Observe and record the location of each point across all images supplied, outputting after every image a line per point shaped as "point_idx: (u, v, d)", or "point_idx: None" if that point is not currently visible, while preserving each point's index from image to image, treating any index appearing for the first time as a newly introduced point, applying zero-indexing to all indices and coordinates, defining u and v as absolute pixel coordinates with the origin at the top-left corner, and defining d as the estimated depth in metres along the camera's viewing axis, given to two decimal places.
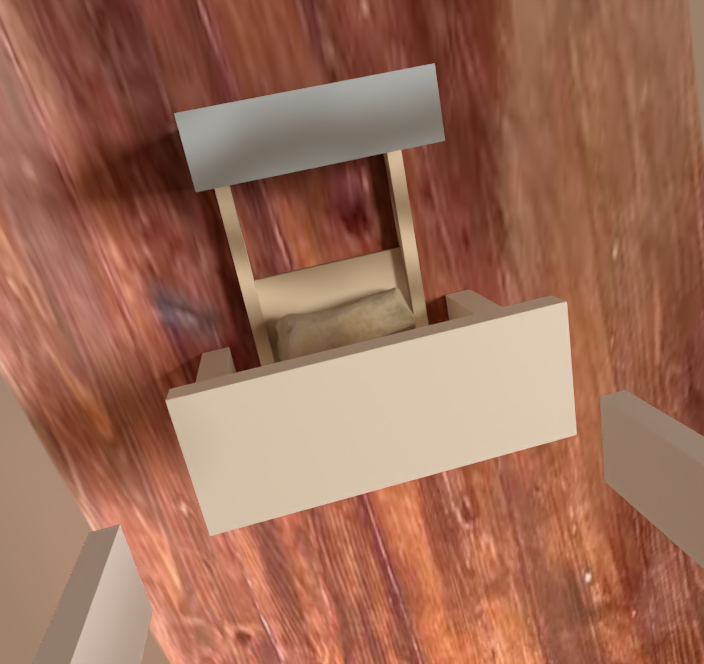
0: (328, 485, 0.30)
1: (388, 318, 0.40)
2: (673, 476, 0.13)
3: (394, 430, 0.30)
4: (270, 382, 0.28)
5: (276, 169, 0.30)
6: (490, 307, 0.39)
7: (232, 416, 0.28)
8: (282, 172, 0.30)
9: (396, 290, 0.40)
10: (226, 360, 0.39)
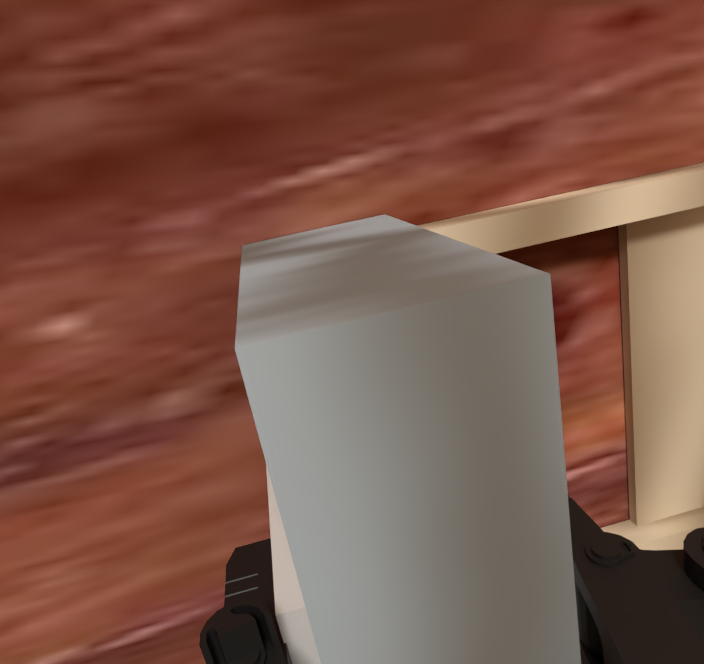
0: None
1: None
2: None
3: None
4: None
5: None
6: None
7: None
8: None
9: None
10: None
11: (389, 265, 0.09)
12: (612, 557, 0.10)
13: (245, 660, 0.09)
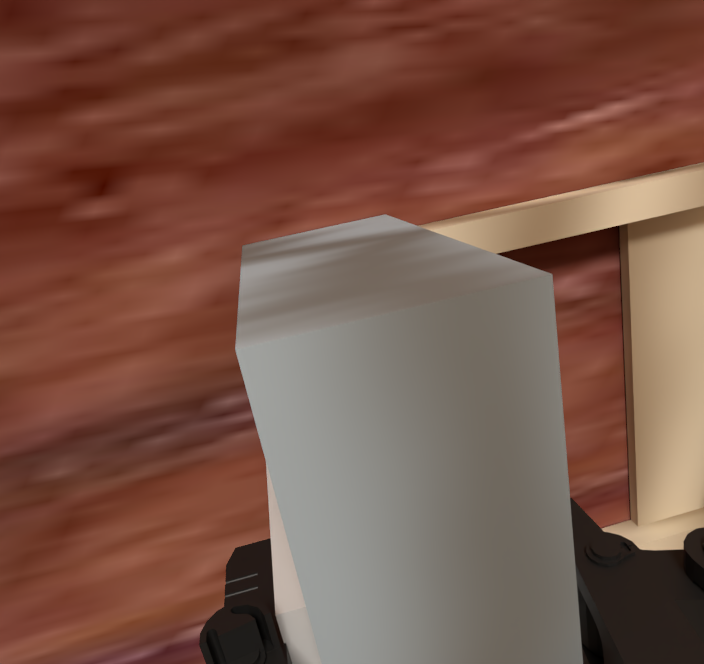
0: None
1: None
2: None
3: None
4: None
5: None
6: None
7: None
8: None
9: None
10: None
11: (390, 265, 0.09)
12: (612, 557, 0.10)
13: (245, 660, 0.09)
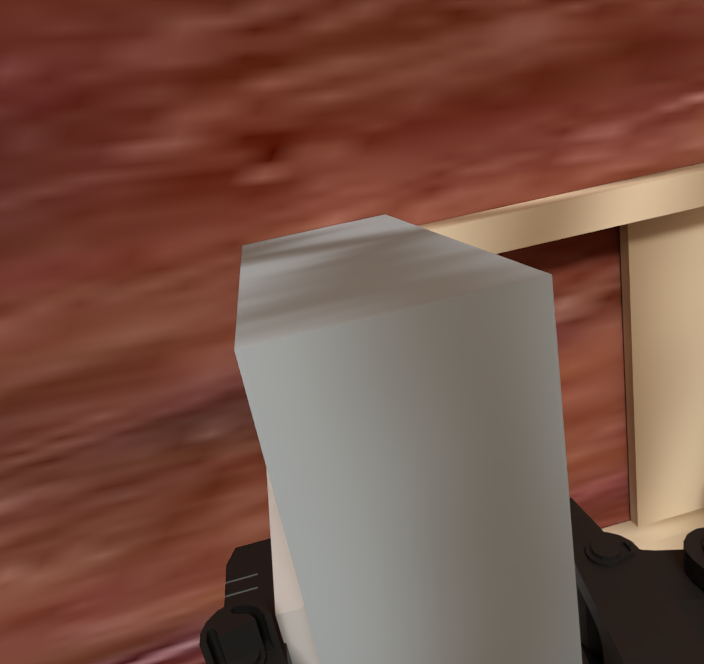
0: None
1: None
2: None
3: None
4: None
5: None
6: None
7: None
8: None
9: None
10: None
11: (390, 265, 0.09)
12: (612, 557, 0.10)
13: (245, 660, 0.09)
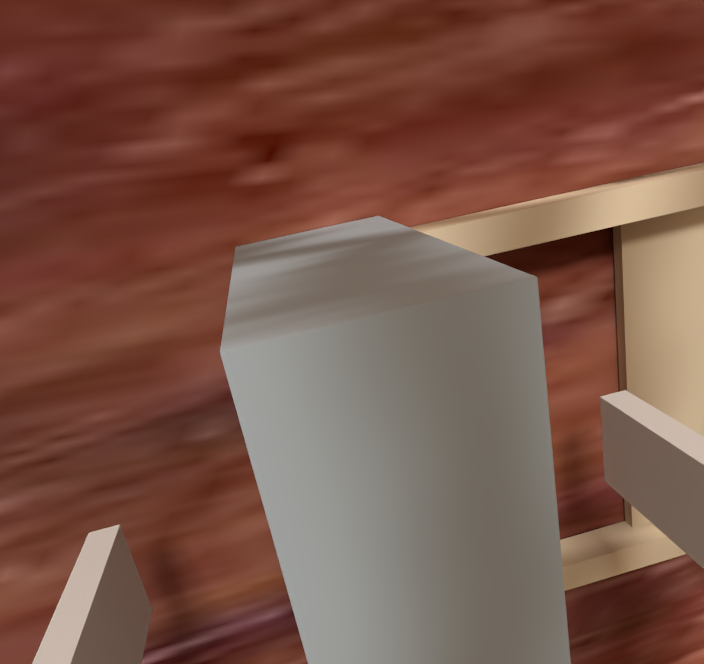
0: None
1: None
2: (673, 475, 0.13)
3: None
4: None
5: None
6: None
7: None
8: None
9: None
10: None
11: (379, 267, 0.09)
12: None
13: None
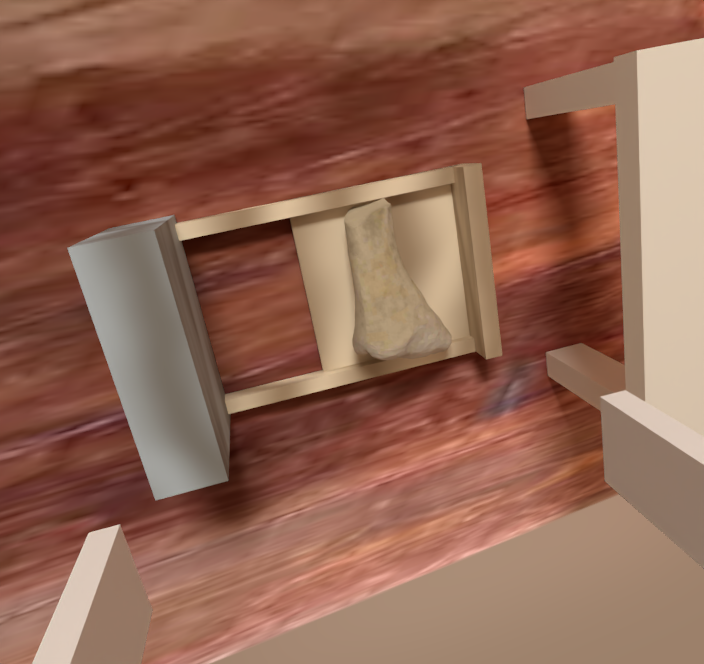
0: None
1: (376, 241, 0.34)
2: (673, 475, 0.13)
3: None
4: (652, 394, 0.28)
5: (201, 409, 0.30)
6: (570, 86, 0.32)
7: None
8: (204, 404, 0.29)
9: (347, 221, 0.35)
10: (567, 366, 0.40)
11: (132, 230, 0.29)
12: None
13: None
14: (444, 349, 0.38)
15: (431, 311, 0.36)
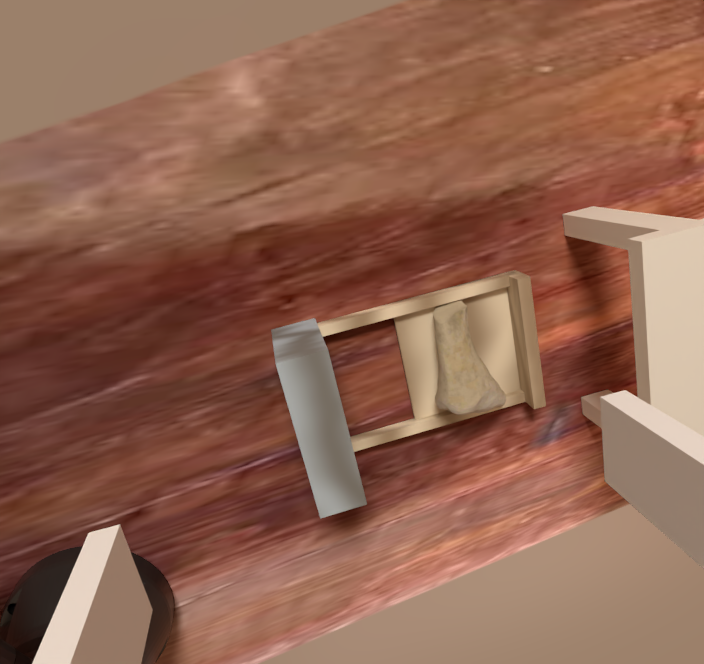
0: None
1: (457, 333, 0.49)
2: (673, 476, 0.13)
3: None
4: None
5: (352, 459, 0.45)
6: (598, 227, 0.47)
7: None
8: (353, 455, 0.45)
9: (436, 318, 0.50)
10: (598, 410, 0.55)
11: (305, 344, 0.44)
12: None
13: None
14: (501, 405, 0.53)
15: (493, 380, 0.51)
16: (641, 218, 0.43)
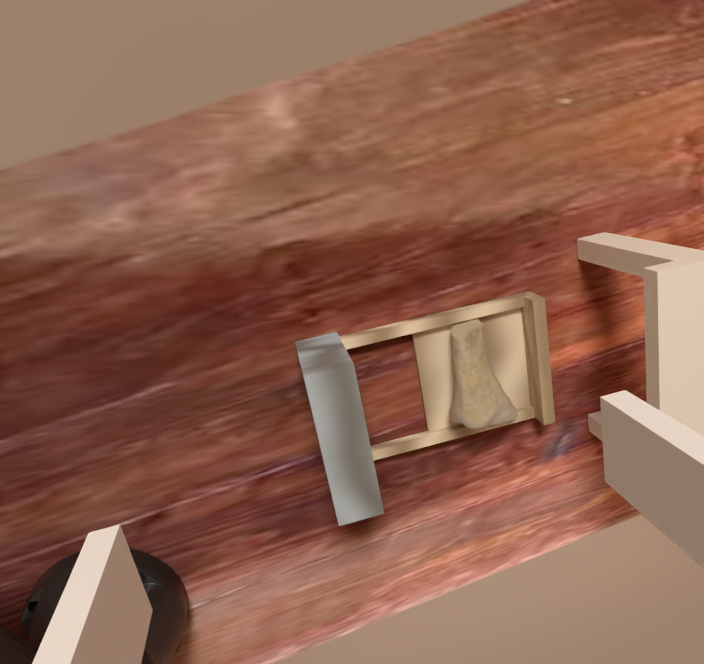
0: None
1: (473, 350, 0.51)
2: (674, 476, 0.13)
3: None
4: None
5: (371, 469, 0.47)
6: (611, 253, 0.49)
7: None
8: (373, 466, 0.46)
9: (453, 335, 0.52)
10: None
11: (330, 358, 0.46)
12: None
13: None
14: (512, 421, 0.55)
15: (506, 396, 0.53)
16: (654, 247, 0.46)
